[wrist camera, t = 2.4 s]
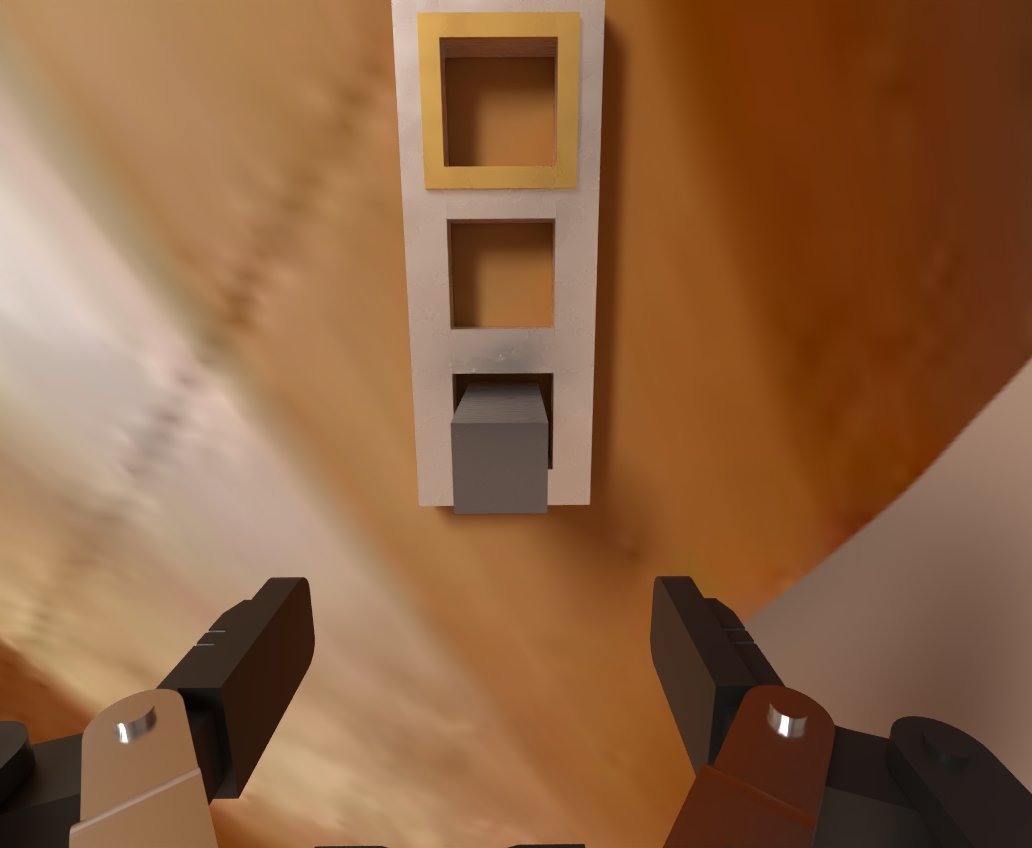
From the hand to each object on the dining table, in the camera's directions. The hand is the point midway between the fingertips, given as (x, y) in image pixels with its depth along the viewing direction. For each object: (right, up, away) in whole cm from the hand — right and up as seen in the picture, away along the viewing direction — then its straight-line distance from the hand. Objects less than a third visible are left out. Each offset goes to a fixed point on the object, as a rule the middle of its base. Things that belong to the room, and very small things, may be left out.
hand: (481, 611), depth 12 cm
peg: (0, +5, +20) cm, 20 cm away
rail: (0, +13, +18) cm, 22 cm away
